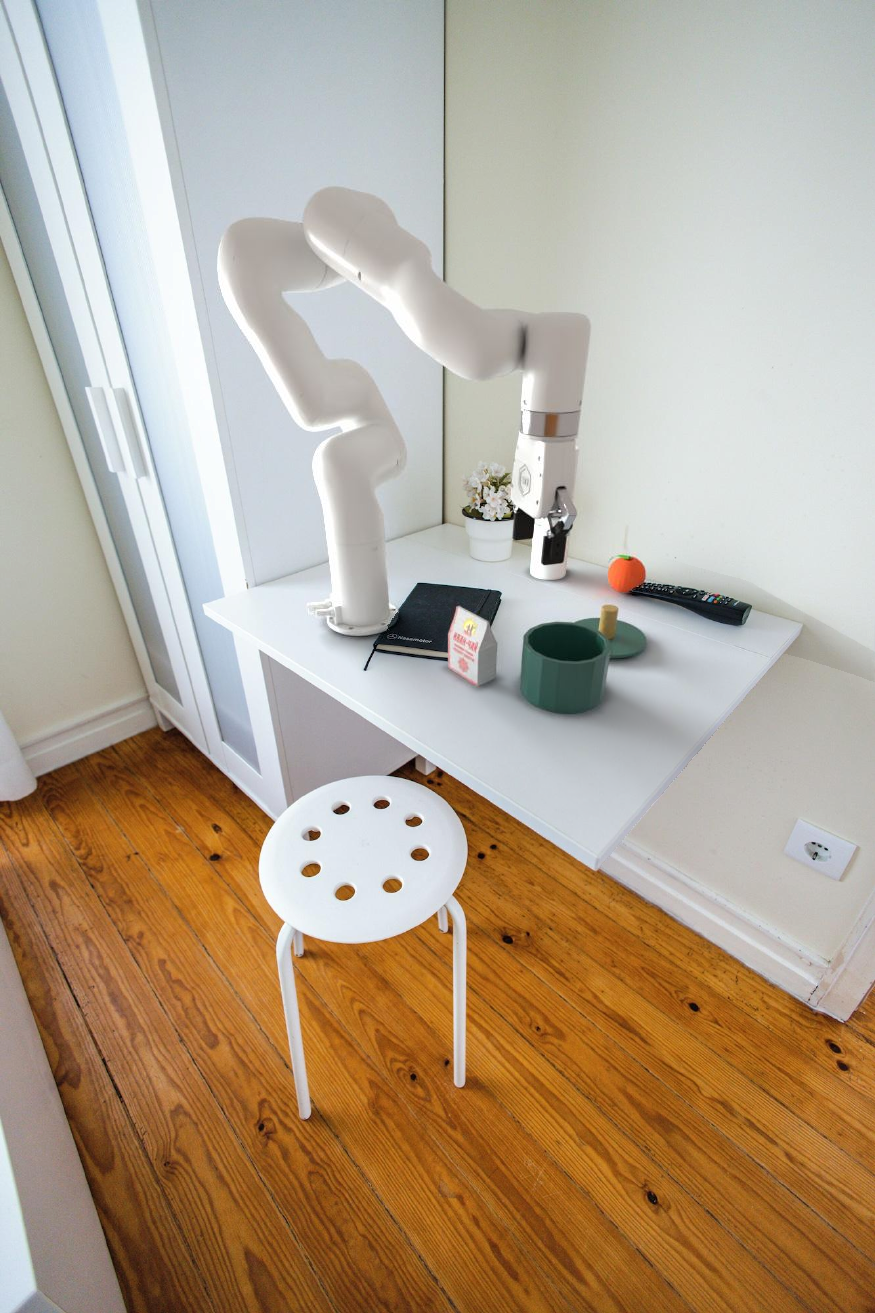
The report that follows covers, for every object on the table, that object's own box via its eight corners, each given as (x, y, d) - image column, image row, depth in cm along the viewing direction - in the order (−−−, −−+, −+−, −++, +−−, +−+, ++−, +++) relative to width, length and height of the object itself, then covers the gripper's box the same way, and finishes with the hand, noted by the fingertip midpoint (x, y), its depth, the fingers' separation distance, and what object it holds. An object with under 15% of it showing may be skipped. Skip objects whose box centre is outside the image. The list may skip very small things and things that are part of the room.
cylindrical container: (555, 582, 119) (568, 453, 106) (524, 574, 123) (532, 448, 110) (571, 571, 124) (585, 446, 111) (540, 563, 128) (551, 441, 115)
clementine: (593, 588, 117) (598, 553, 113) (616, 579, 120) (621, 545, 117) (627, 602, 111) (633, 566, 107) (650, 592, 115) (656, 557, 111)
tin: (539, 720, 80) (544, 669, 76) (508, 674, 90) (510, 627, 86) (618, 705, 83) (627, 656, 79) (579, 663, 93) (585, 617, 89)
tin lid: (588, 666, 92) (593, 631, 89) (552, 628, 103) (556, 596, 99) (661, 654, 95) (668, 620, 92) (619, 619, 105) (624, 587, 102)
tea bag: (466, 659, 94) (467, 602, 89) (495, 677, 90) (498, 618, 84) (448, 667, 92) (448, 609, 87) (477, 686, 88) (478, 626, 82)
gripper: (496, 413, 82) (490, 533, 91) (552, 439, 68) (538, 577, 77) (546, 411, 84) (535, 528, 93) (611, 435, 70) (590, 571, 79)
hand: (536, 550), depth 85 cm, fingers open, 9 cm apart
